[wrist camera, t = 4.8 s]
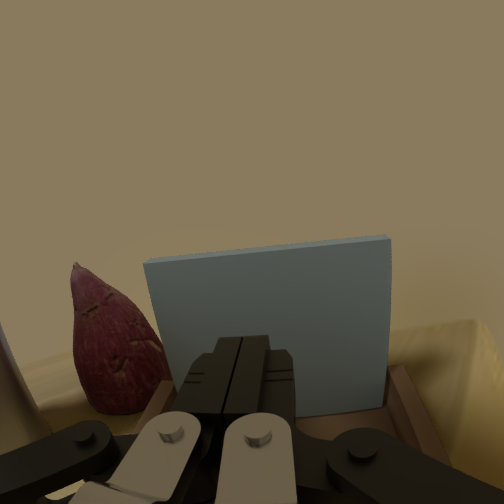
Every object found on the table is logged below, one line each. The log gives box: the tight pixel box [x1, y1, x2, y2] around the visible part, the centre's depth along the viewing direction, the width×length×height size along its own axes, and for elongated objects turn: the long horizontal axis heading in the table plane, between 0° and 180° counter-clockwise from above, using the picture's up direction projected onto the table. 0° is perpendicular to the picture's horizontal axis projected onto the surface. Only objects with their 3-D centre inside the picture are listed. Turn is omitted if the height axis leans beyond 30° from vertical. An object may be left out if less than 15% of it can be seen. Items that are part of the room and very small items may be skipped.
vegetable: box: [70, 262, 173, 415], centre depth 28 cm, size 10×10×15 cm
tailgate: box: [143, 235, 392, 417], centre depth 20 cm, size 14×2×12 cm, turn 84°
